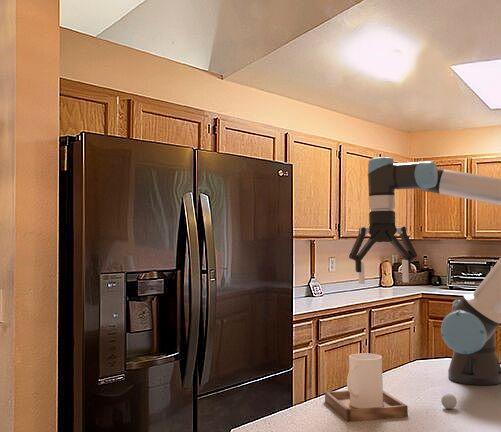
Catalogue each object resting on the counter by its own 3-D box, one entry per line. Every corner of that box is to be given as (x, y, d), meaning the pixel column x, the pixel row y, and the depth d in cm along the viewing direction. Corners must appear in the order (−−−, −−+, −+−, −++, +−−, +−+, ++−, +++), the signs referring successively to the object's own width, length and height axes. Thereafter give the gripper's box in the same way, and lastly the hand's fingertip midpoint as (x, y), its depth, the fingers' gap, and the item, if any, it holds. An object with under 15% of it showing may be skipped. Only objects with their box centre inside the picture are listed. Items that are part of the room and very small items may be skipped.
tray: (379, 397, 160) (379, 388, 160) (407, 416, 144) (407, 405, 144) (325, 401, 158) (324, 392, 158) (347, 421, 141) (347, 410, 141)
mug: (360, 414, 143) (358, 363, 144) (333, 407, 150) (332, 358, 150) (391, 404, 151) (389, 356, 151) (364, 398, 157) (363, 351, 158)
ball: (452, 406, 152) (451, 391, 152) (459, 410, 148) (459, 395, 148) (438, 407, 151) (438, 392, 151) (446, 411, 147) (445, 396, 147)
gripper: (415, 210, 185) (417, 280, 184) (337, 211, 180) (338, 283, 179) (427, 209, 177) (429, 282, 177) (345, 210, 173) (347, 285, 172)
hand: (383, 283), depth 178 cm, fingers open, 13 cm apart
